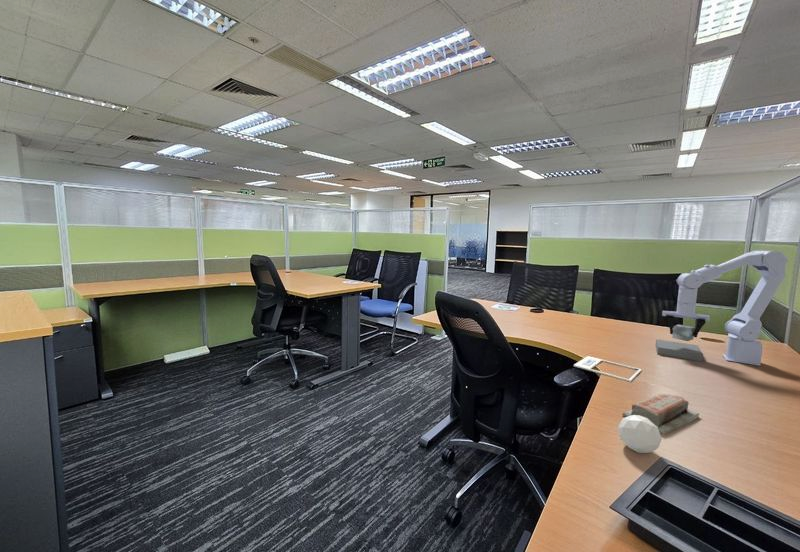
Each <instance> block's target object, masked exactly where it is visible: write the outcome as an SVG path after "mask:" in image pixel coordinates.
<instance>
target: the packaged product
mask: <svg viewBox="0 0 800 552" xmlns="http://www.w3.org/2000/svg"><path fill="white" fill-rule="evenodd" d="M688 407H689V401H688V400H686V399H684V397H681V396H678V395H672V394H669V393H668V394H667V393H666V394H665V393H660V394H657V395H653V396H652V397H649V398H647V399H643V400H640V401H638V402H635V403H633V404H631V409H629V410H627V411H625V412H624V411H623V412H622V417H624V418H625V417H628V416H631V415H640V416H642V417H645V418H648V419H649V420H650V421H651V422H652V423H653V424H654V425H656V426H657V427H658V429H659V433H660V432H661V433H660V434H662V433H663V434H662V435H666V434H668V433H670V432H672V431H675V430H677V429H679V428H682V427H683V426H686V425H687V424H689V423H691V422H693V421H694V420H697V419H698V417H699V416H700V412H698V411H695V410H691V409H688ZM676 428H677V429H676ZM674 429H675V430H674Z"/></svg>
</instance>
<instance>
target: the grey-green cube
mask: <svg viewBox="0 0 800 552" xmlns="http://www.w3.org/2000/svg"><path fill="white" fill-rule="evenodd" d="M694 330H695V326H694V327H693V326H689V325H683V324H675V325H673V334H671V336H672V337H671V338H672V339H676V340H680V341H685V342H690V341H692V340H693V341H694V338H695V337H694Z"/></svg>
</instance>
